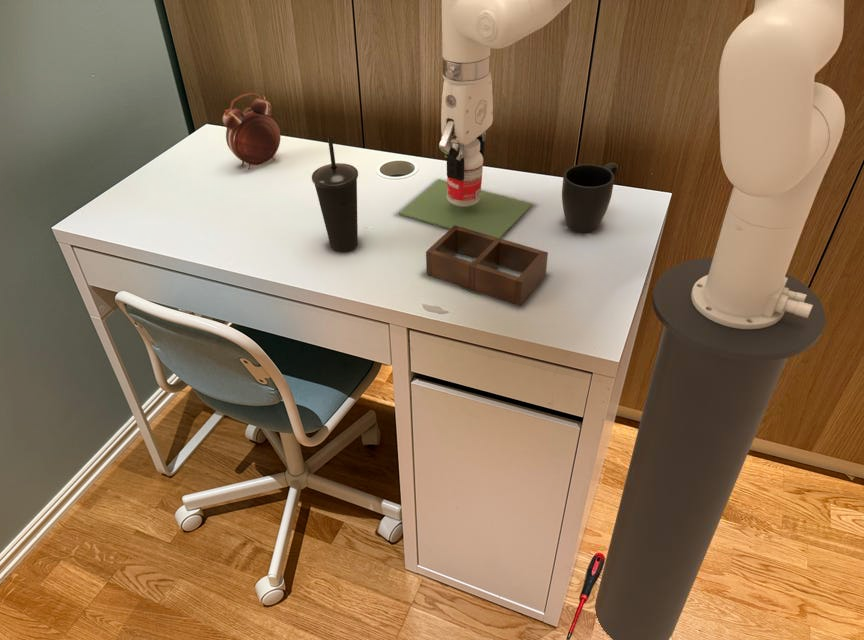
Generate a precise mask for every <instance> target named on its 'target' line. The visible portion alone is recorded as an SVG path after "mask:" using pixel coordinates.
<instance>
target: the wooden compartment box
mask: <svg viewBox="0 0 864 640" xmlns="http://www.w3.org/2000/svg"><path fill="white" fill-rule="evenodd" d="M456 253H459V254H462V255H465V256H468V257H472V258H475V259H474V260H473V262H472V261H469V260H467V259H464V258H460V257H456V256H454V255H455V254H456ZM548 256H549V252H548V251H544V250H541V249H538V248H535V247H530V246H527V245H524V244H520V243H517V242H514V241H511V240H507V239H504V238H497V237H494V236H490V235H487V234H483V233H480V232H476V231H473V230H470V229H466V228H463V227H459V226H456V225H454V226H453V227H452V228H451V229H448V230H447V232H445V233H444V234H443V235H441V237H439V239H438V240H437V241H435V242H434V244H432V245H431V246H430V247H429V248H428V249H427V250H426V251H425V263H426V264H425V265H426V275H428V276H430V277H433V278H436V279H439V280H442V281H446V282H448V283H452V284H455V285H458V286H460V287H463V288H467V289H469V290H472V291H474V292H478V293H481V294H484V295H487V296H489V297H493V298H496V299H499V300H502V301H505V302H508V303H511V304H514V305H517V306H522V304H523V303H524V302H525V301H526V299H528V297H529V296H530V295H531V294H532V292H533V291H534V290H535V289H536V288H537V287H538V286H539V284H540V283H541V282H542V281H543V280H544V278H546V276H547V269H548V267H547V266H548V258H549V257H548ZM498 266H501V267H504V268H508V269H510V270H514V271H517V272H520V273H521V274H520V275H519V276H517V275H514V274H511V273H507V272H504V271H501V270H498V269H496V268H497V267H498Z"/></svg>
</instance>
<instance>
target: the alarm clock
mask: <svg viewBox="0 0 864 640" xmlns="http://www.w3.org/2000/svg"><path fill="white" fill-rule="evenodd" d="M252 95H253V96H256V97H257V98H255V99H253V100H252V102H251V103H250V105H249V106H245V107H244V108H243V109H242V110H240V109H238V108H236V107H234V103H235V102H237V101H238V100H239V99H242V98H244V97H247V96H252ZM230 102H231V103H230V106H229V108H228V109H224V111H223V112H224V113H223V115H222V123H223V125H224V127H225V128H226V131H225V139H226V144H227V146H228V148H229V150H230V152H232V154H233V155H234V156H235V158H237V159H238V160H240V161H241V164H240V166H241V167H245V166H244V165H245V164H247V165H248V167H247V170H251V166H259V165H263V164H265V163H267V162H269V161H270V160H271V159H272V161H276V158H275V157H274V156H276V153H277V152H278V150H279V148H280V144H281V131H280V128H279V125H278V124H277V121H275V120H274V119H273V118H272V117H271V115H272V112H273V107H272V105H271V103H270V102H269V100H267V99H266V95H262V97H261V95H260V94H259V93H257V92H254V91H253V92H245V93H243V94H239V95H238V96H237V97H235V98H234V99H232V100H231V101H230Z"/></svg>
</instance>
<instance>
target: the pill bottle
mask: <svg viewBox="0 0 864 640" xmlns="http://www.w3.org/2000/svg"><path fill="white" fill-rule="evenodd" d="M455 139H457V137H456V138H455ZM452 148H454V149H455V150H456V151H457V150H458V144H455V143H453V145H452ZM479 151H480V141H479V140H478V139H475V140H473V141H472V142H471V143H469V144H467V145H464V150H463V155H462V158H464V179H463V180H462V181H460V180H456V179H452V178H449V177H447V176H446V182H447V199H448V201H449V202H450V203H452V204H453V205H456V206H462V207H465V206H471V205H474V204H476V203H477V202H478V201H479V200H480V196H481V191H482V182H483V170H484V168H483V167H484V162H483V156H482V154H481V153H480V152H479Z"/></svg>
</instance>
